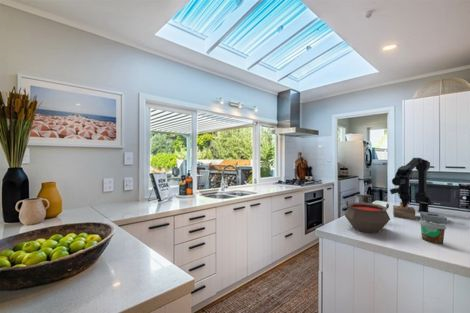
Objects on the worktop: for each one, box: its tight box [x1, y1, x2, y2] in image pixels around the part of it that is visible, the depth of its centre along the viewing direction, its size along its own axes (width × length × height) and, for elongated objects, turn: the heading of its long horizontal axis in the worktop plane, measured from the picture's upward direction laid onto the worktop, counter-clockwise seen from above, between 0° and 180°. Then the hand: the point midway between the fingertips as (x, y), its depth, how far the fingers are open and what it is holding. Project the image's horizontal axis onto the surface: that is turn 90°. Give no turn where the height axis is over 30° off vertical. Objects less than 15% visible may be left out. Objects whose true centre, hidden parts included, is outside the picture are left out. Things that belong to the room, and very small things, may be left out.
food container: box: [418, 218, 447, 245], centre depth 117 cm, size 12×6×10 cm, turn 5°
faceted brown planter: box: [344, 200, 391, 234], centre depth 135 cm, size 24×24×16 cm
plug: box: [399, 201, 409, 209], centre depth 162 cm, size 4×4×7 cm
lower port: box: [419, 212, 448, 225], centre depth 153 cm, size 12×12×4 cm
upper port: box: [392, 204, 416, 221], centre depth 162 cm, size 12×12×6 cm
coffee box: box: [354, 193, 373, 204], centre depth 157 cm, size 9×6×16 cm
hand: (403, 206), depth 162 cm, fingers open, 6 cm apart
